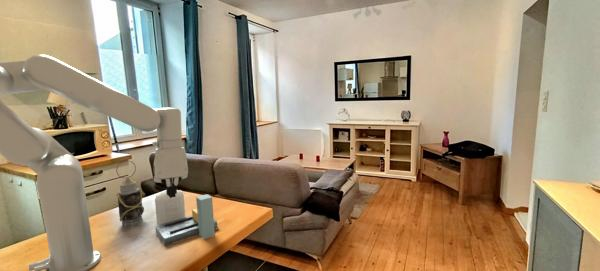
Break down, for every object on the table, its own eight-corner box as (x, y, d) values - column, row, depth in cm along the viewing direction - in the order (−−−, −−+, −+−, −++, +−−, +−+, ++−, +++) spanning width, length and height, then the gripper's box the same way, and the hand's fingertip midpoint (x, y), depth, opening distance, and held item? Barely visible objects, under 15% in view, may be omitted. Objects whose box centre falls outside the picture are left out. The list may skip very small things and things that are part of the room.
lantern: (139, 216, 113) (132, 157, 110) (149, 221, 109) (142, 159, 105) (115, 225, 106) (107, 161, 102) (125, 230, 101) (117, 164, 98)
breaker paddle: (197, 222, 100) (196, 213, 100) (192, 218, 104) (192, 209, 104) (205, 220, 102) (205, 211, 102) (200, 215, 106) (200, 207, 105)
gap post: (203, 239, 94) (200, 200, 92) (199, 235, 97) (196, 196, 95) (214, 235, 96) (212, 197, 94) (210, 231, 99) (207, 194, 97)
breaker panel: (165, 245, 90) (164, 237, 90) (156, 232, 99) (155, 224, 99) (217, 228, 102) (217, 220, 101) (205, 217, 111) (204, 210, 110)
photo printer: (184, 216, 113) (181, 186, 111) (186, 219, 109) (184, 189, 108) (156, 222, 107) (153, 192, 106) (157, 227, 104) (154, 195, 102)
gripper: (147, 147, 86) (150, 204, 88) (195, 143, 96) (197, 195, 98) (142, 144, 92) (145, 197, 94) (188, 141, 102) (190, 189, 104)
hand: (171, 196), depth 96 cm, fingers closed
